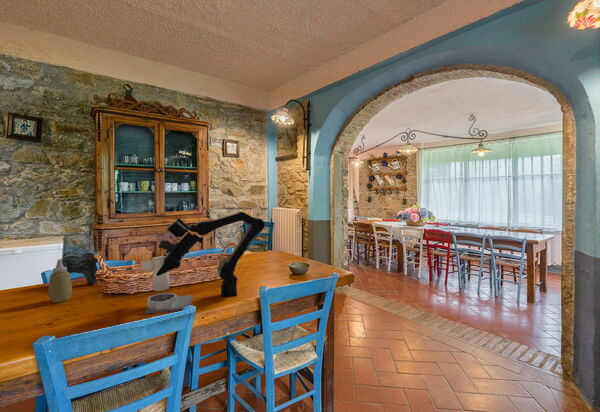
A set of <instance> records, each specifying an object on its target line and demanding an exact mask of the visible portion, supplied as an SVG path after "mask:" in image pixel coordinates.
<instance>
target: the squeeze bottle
mask: <svg viewBox="0 0 600 412" xmlns="http://www.w3.org/2000/svg"><path fill="white" fill-rule="evenodd" d="M61 259H62V258H59V259H57V261H56V266H55V267H53V268H52V273H51V274H50V275H49V282H48V293H47V295H48V298H49V299H50V301H51V303H62V302H66V301H69V300H70V298H71V297H72V296H71V295H72V292H73V285H72V280H71V274H70V273H69V272H67V267H64V266H63V263H62V260H61Z"/></svg>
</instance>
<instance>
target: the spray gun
mask: <svg viewBox="0 0 600 412" xmlns="http://www.w3.org/2000/svg"><path fill="white" fill-rule="evenodd" d="M82 247H83V248H84V249H85V251H84V253H83V254H81V253H76V252H67V253H65V254H63V255H62V257H61V258H60V259H61V260H62V263H63V266H64V267H67V272H69V273H70V275H71V274H73V273H75V274H82V275H84V277H85V278H86V285H87V284H95V283H97V280H96V276H95V273H96V271H97V270H98V266H97V264H98V263H99V262H98V260H97V259H95V258H94V255H100V256H101V257H102V255H101V253H100V252H99V250H98V249H95V250H93V251H89V250H87V248H86V246H84V245H80V246H79V247H78V249H80V248H82ZM72 254H73V255H72ZM97 284H98V283H97ZM95 285H96V284H95Z"/></svg>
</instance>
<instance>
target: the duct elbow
mask: <svg viewBox="0 0 600 412" xmlns="http://www.w3.org/2000/svg"><path fill="white" fill-rule="evenodd" d="M165 257H166V256H164V255H162V256H161V255H160V256H156V257H152V258H151V259H150V260H149V259H148V260H141V261H140V270H141V272H146V271H152V286H153V287H152V290H153V291H155V292H160V291H166V290H168V289H169V288H170V273H169V272H170V271H168V272H166V273H164V274H162V275H159V276H157V275H156V274H157V272H158V271H159V269H160V268H161V267H162V265H163V264H164V258H165Z"/></svg>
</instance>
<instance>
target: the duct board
mask: <svg viewBox="0 0 600 412" xmlns="http://www.w3.org/2000/svg"><path fill="white" fill-rule="evenodd" d="M193 298H194V296H193V294H189V295H178V294H176V293H174V292H162V293H161V292H160V293H157V294H153V295H151V296H149V297H148V298H147V300H146V303H147V307H146V310H145V314H146V315H147V314H157V313H168V311H169V312H176V311H177V312H179V311H184V310H183V308H184V307H185V306H188V305H192V303H193Z"/></svg>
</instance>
